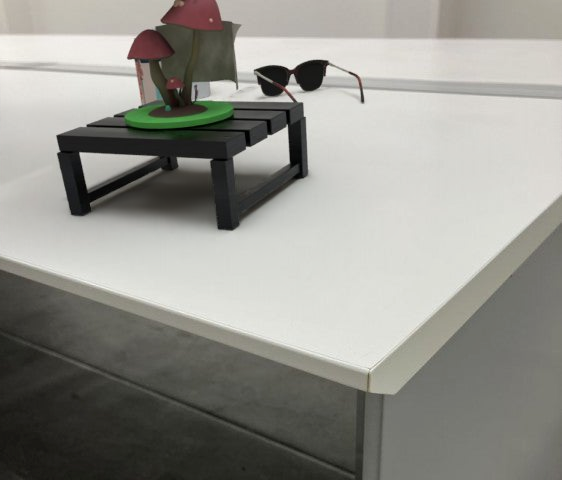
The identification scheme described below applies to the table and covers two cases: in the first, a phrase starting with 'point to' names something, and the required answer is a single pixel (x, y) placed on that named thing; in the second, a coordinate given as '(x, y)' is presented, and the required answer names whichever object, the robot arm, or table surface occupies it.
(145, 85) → the beer can
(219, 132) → the rack
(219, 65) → the mushroom figurine
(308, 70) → the sunglasses
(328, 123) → the table surface
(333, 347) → the table surface
